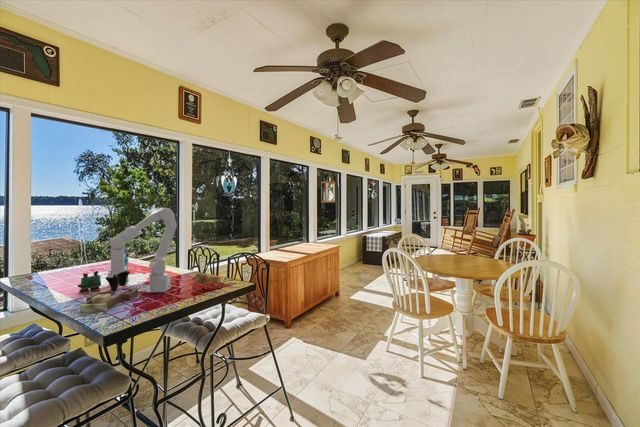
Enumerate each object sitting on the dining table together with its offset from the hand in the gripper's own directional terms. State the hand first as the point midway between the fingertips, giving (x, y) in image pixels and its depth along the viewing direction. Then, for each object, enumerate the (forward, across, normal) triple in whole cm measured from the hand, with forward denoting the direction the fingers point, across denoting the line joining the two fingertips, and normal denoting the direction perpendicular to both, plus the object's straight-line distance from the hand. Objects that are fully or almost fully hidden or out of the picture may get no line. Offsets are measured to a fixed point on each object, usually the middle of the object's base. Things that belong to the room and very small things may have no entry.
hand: (118, 288), depth 144 cm
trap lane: (+4, +7, 0) cm, 8 cm away
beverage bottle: (+4, -24, -11) cm, 27 cm away
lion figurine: (+5, -8, +41) cm, 42 cm away
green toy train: (+4, -10, -19) cm, 22 cm away
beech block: (+4, +14, 0) cm, 15 cm away
